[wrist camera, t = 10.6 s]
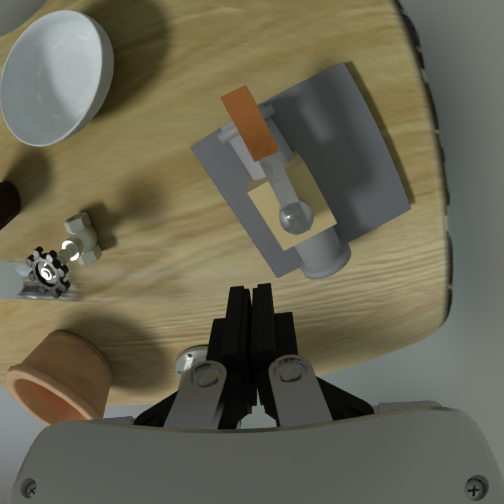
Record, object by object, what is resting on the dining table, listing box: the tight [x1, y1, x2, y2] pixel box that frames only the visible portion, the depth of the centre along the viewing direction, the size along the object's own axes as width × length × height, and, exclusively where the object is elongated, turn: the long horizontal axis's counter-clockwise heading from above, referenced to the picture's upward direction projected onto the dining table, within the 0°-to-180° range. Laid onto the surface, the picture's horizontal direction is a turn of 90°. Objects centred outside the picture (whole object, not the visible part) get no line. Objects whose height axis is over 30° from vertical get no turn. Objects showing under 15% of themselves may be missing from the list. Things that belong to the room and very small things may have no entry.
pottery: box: [6, 331, 113, 426], centre depth 47 cm, size 22×22×14 cm
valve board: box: [190, 62, 411, 279], centre depth 31 cm, size 20×20×9 cm
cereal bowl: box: [0, 10, 114, 147], centre depth 26 cm, size 17×17×7 cm
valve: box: [26, 212, 102, 298], centre depth 35 cm, size 7×7×12 cm
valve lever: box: [220, 85, 314, 236], centre depth 25 cm, size 14×3×2 cm, turn 26°
